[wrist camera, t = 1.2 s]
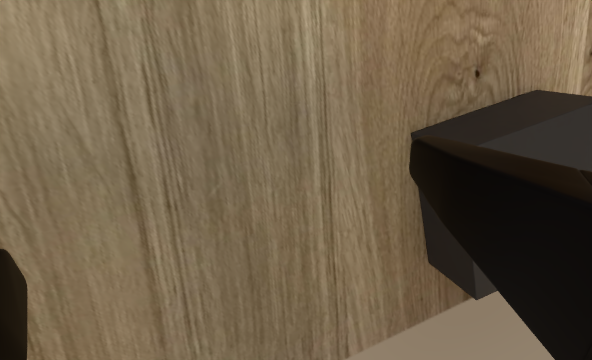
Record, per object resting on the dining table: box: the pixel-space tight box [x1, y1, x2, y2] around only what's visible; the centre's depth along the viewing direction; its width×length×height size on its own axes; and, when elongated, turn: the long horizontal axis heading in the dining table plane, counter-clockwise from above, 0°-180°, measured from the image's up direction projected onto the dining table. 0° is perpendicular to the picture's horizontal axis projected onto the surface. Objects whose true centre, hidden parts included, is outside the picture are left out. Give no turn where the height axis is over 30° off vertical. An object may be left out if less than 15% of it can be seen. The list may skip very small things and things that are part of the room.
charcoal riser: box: [411, 90, 592, 300], centre depth 28 cm, size 10×10×5 cm
